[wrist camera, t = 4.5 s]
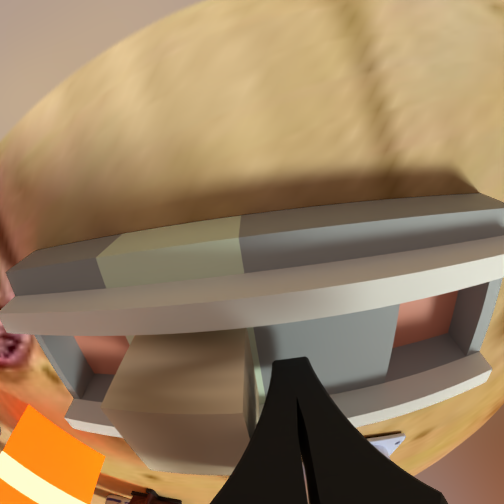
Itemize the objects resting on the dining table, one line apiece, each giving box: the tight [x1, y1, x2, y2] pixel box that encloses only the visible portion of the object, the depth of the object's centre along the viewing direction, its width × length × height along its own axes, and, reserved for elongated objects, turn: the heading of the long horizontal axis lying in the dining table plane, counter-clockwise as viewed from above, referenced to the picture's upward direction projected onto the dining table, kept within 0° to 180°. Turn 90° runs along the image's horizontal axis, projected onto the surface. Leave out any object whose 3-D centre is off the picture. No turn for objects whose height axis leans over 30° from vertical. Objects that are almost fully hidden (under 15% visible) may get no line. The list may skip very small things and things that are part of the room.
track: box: [0, 193, 504, 438], centre depth 11 cm, size 22×10×4 cm, turn 98°
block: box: [100, 328, 259, 475], centre depth 9 cm, size 4×4×4 cm
